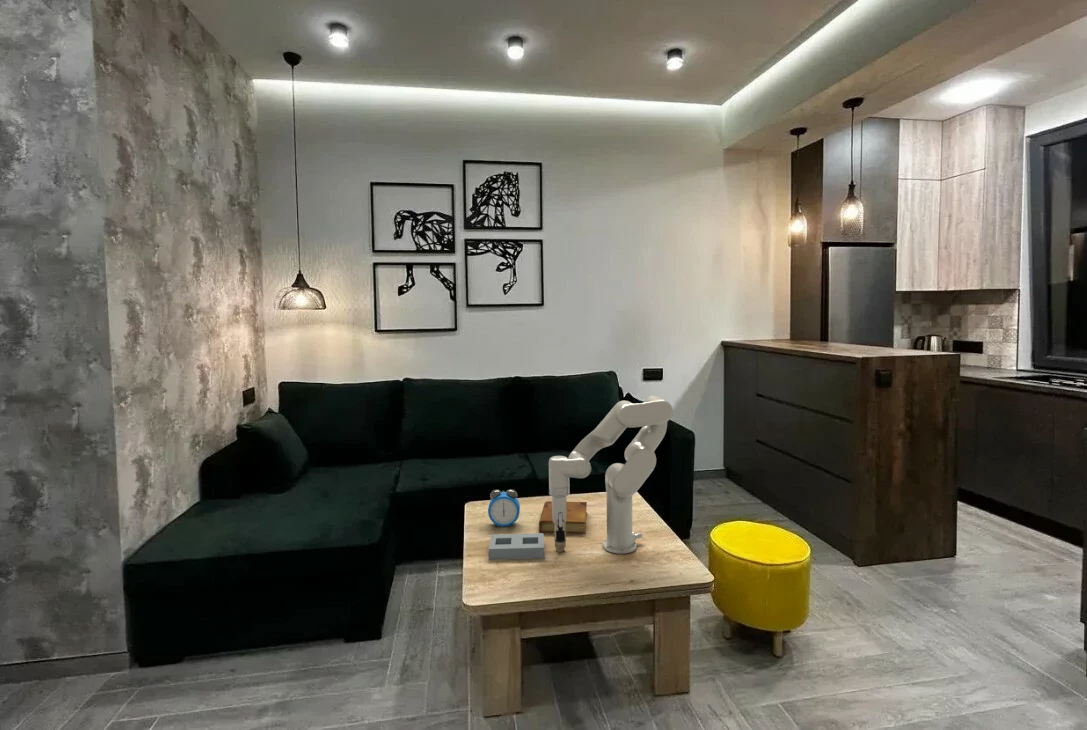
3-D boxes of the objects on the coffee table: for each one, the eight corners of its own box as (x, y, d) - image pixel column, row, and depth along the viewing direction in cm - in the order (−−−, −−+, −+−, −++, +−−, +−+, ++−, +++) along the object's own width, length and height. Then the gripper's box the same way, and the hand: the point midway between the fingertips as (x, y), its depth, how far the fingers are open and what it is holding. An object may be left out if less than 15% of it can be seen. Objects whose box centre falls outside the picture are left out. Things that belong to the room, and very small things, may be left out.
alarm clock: (488, 527, 225) (487, 492, 224) (489, 522, 232) (488, 487, 230) (519, 527, 226) (519, 491, 224) (520, 521, 232) (519, 487, 230)
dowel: (562, 546, 205) (561, 516, 204) (568, 550, 202) (567, 519, 201) (552, 549, 203) (552, 518, 202) (558, 553, 200) (558, 521, 199)
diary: (544, 513, 242) (544, 501, 242) (586, 514, 240) (586, 501, 240) (539, 534, 219) (538, 520, 219) (585, 535, 217) (585, 521, 217)
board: (543, 543, 209) (543, 533, 209) (544, 558, 196) (544, 547, 196) (491, 544, 209) (491, 534, 208) (488, 559, 196) (488, 549, 195)
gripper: (548, 483, 209) (549, 529, 210) (549, 497, 192) (550, 547, 194) (568, 482, 209) (568, 529, 211) (571, 497, 192) (571, 547, 194)
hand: (560, 537), depth 202 cm, fingers closed on dowel, 4 cm apart
